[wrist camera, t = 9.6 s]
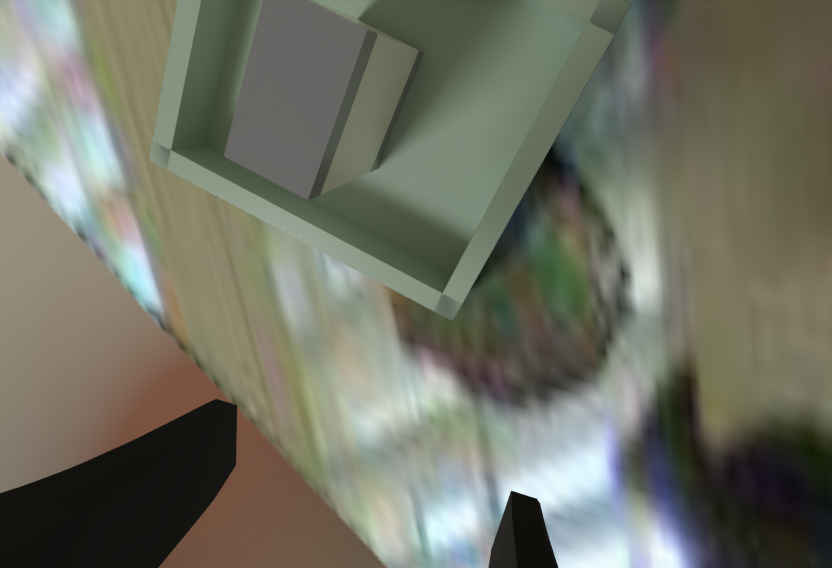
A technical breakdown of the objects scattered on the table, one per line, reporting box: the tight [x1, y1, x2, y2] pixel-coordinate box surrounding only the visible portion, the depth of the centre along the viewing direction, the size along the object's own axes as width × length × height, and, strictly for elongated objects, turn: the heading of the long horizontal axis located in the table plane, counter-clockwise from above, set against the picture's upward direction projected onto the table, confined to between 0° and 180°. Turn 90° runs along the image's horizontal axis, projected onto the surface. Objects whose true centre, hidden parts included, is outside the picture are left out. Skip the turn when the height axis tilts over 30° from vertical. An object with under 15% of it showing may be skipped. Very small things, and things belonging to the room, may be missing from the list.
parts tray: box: [149, 0, 632, 321], centre depth 16 cm, size 13×11×2 cm
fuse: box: [224, 0, 424, 200], centre depth 15 cm, size 3×4×6 cm, turn 156°
